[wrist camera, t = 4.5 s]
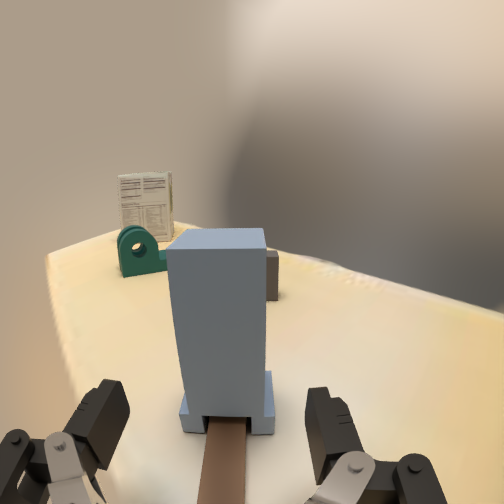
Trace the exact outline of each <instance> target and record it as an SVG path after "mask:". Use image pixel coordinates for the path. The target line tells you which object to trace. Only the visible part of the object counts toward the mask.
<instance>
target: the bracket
mask: <svg viewBox="0 0 504 504" xmlns="http://www.w3.org/2000/svg"><path fill="white" fill-rule="evenodd" d="M136 243H141V245H140V247H139V248H138V249H135V250H133V249H132V247H133V246H134V245H135V244H136ZM117 248H118V257H119V264H120V269H121V272H122V275H123V278H125V277H131V276H137V275H143V274H149V273H156V272H162V271H168V270H167V259H166V250H160V251H159V250H158V244H157V241H156V239H155V238H154V237H153V236H152V235H151V234H150V233H149V232H148V231H147V230H146V229H145V228H143V227H141V226H139V225H130V226H128V227H126V228H124V229H123V230H122V231H121V232H120V234H119V236H118V239H117Z"/></svg>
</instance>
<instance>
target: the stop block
mask: <svg viewBox="0 0 504 504" xmlns="http://www.w3.org/2000/svg"><path fill="white" fill-rule="evenodd" d="M278 269H279V256H278V253H277V251H266V301H278Z"/></svg>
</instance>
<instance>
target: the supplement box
mask: <svg viewBox="0 0 504 504" xmlns="http://www.w3.org/2000/svg"><path fill="white" fill-rule="evenodd" d="M118 196H119V211H120V224H121V231H122V230H123V229H124V228H126V227H128V226H130V225H139V226H141V227H143V228H145V229H146V230H147V231H148V232H149V233H150V234H151V235H152V236H153V237H154V238H155V239H156V241H157V242H163V241H171V239H172V236H173V233H174V221H173V203H172V172H167V171H166V172H150V173H137V174H127V175H119V176H118Z"/></svg>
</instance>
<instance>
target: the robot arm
mask: <svg viewBox="0 0 504 504" xmlns="http://www.w3.org/2000/svg"><path fill="white" fill-rule="evenodd" d="M129 415H130V407H129V403H128V401H127V398H126V395H125V392H124V389H123V386H122V383H121V382H120V381H115V380H109V379H103V380H102V382H101V383H100V385H99V387H98V388H93V389H92V390H90V391H89V392H88V393H87V394H85V396H84V398H83V399H82V401H81V404H79V405H78V407H77V410H75V412H74V413H73V415H72V417H71V418H70V420H69V422H68V423H67V425H66V427H65V428H64V430H63V431H62V432H55V433H53V434H51V435H49V436H48V437H47V438H46V440H44V439H30V437H29V435H28V434H27V433H26V432H25V431H24V430H21V429H15V430H12V431H10V432H8V433H7V434H6V436H5V437H4V439H3V440H2V442H1V444H0V504H47V501H48V499H49V496H51V500H52V504H109V503H108V501H107V498H106V496H105V494H104V492H103V489H102V487H101V485H100V482H99V480H98V478H97V475H96V474H95V473H96V471H97V469H98V468H99V469H102V470H106V471H107V469H108V466H109V464H110V461H111V459H112V456H113V454H114V452H115V449H116V447H117V444H118V442H119V440H120V437H121V435H122V432H123V430H124V428H125V425H126V423H127V421H128V418H129ZM305 427H306V432H307V437H308V442H309V448H310V453H311V458H312V464H313V469H314V474H315V480H316V485H321V486H320V487H319V489H318V490H317V491H316V493H315V494H314V495H313V497H312V498H309V499H308V500H307V501H306V502H305V503H304V504H447V501H446V499H445V496H444V493H443V491H442V488H441V486H440V483H439V481H438V478H437V476H436V474H435V471H434V469H433V466H432V464H431V462H430V460H429V459H428V458H427V457H425V456H424V455H421V454H416V453H414V454H408V455H406V456H404V457H402V458H401V459H400V461H399V462H387V461H378V460H375V459H373V458H372V457H371V456H370V455H368V454H367V453H365V452H364V450H363V447H362V444H361V442H360V439H359V436H358V433H357V430H356V428H355V425H354V423H353V419H352V417H351V415H350V411H349V408H348V406H347V404H346V403H345V402H344V401H343V400H342V399H341V398H340V397H336V398H331V397H330V394H329V391H328V388H327V387H317V388H309V389H308V395H307V402H306V409H305ZM23 471H25V472H26V473H25V475H24V477H23V479H22V481H21V483H20V485H19V487H18V490H17V483H18V481H19V479H20V477H21V475H22V473H23Z"/></svg>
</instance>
